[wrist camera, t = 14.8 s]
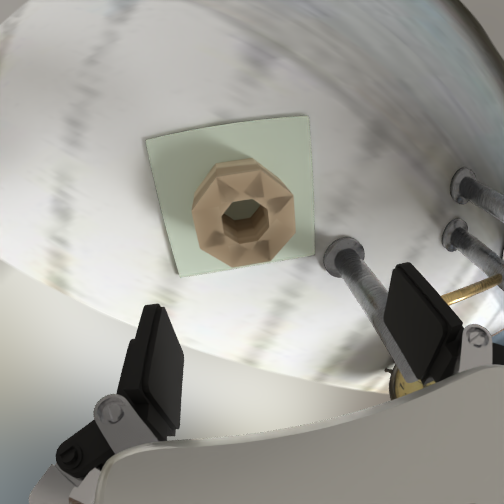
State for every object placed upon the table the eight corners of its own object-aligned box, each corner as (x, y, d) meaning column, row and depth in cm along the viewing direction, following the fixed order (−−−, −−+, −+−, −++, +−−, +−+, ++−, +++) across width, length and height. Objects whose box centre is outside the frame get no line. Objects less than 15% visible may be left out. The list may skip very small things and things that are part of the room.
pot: (277, 154, 20) (291, 166, 17) (284, 232, 24) (296, 256, 20) (190, 168, 20) (185, 182, 17) (205, 245, 23) (205, 272, 20)
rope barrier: (474, 167, 23) (571, 223, 11) (460, 246, 28) (535, 315, 16) (322, 176, 22) (434, 271, 10) (323, 277, 27) (387, 397, 15)
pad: (307, 115, 20) (308, 115, 19) (313, 252, 26) (314, 254, 25) (146, 139, 19) (145, 140, 19) (180, 275, 25) (180, 277, 25)
